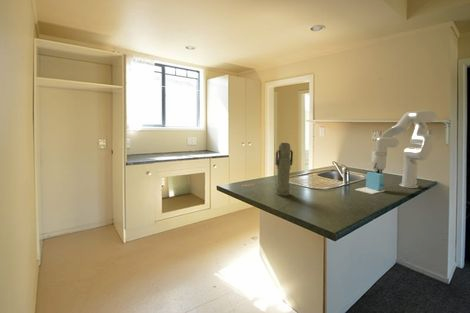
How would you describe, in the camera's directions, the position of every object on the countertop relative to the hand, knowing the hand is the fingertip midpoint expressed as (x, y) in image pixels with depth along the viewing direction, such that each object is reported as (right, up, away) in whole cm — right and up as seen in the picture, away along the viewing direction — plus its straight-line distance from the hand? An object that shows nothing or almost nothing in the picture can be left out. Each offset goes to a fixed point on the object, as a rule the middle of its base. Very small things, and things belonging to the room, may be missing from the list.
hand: (378, 178), depth 203 cm
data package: (-4, -8, -2) cm, 9 cm away
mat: (-9, -9, -5) cm, 13 cm away
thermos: (-76, -10, -19) cm, 79 cm away
